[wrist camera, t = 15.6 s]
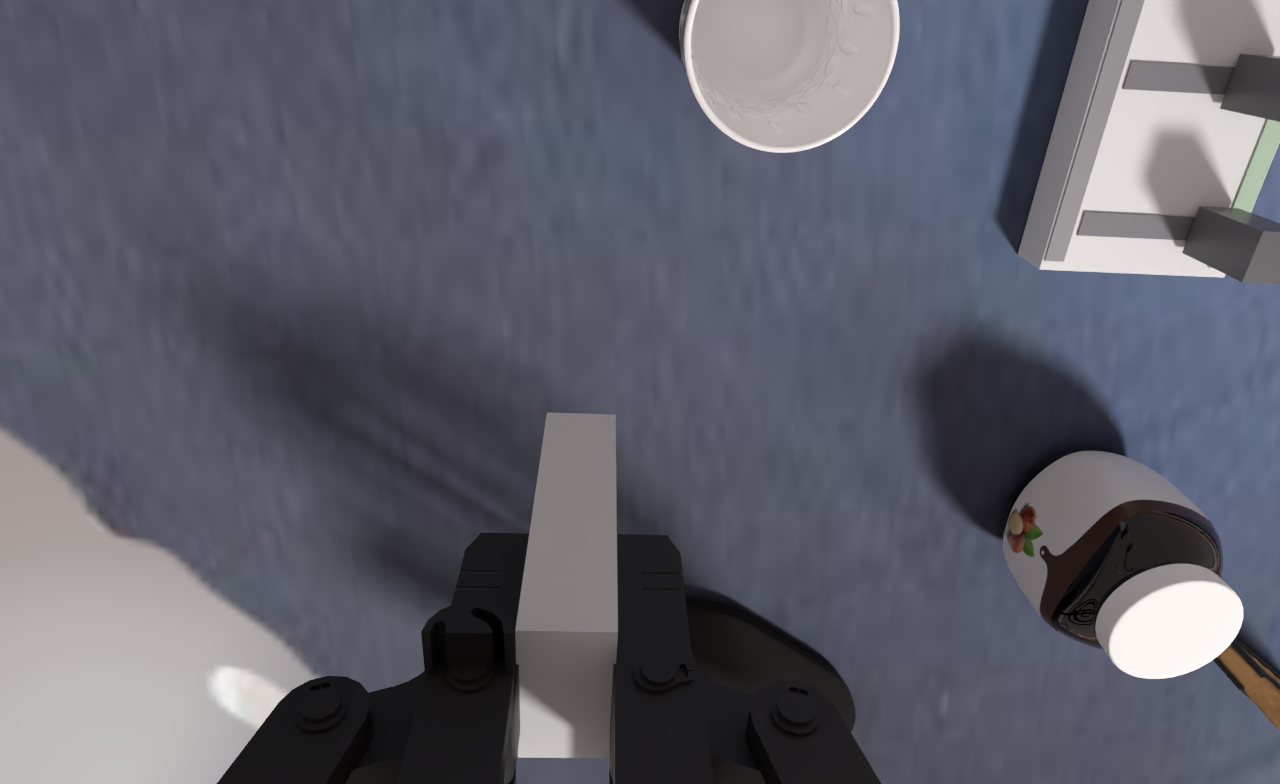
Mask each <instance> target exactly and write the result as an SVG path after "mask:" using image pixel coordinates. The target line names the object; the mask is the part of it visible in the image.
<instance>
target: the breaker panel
mask: <svg viewBox="0 0 1280 784" xmlns="http://www.w3.org/2000/svg"><path fill="white" fill-rule="evenodd" d="M1240 54H1254V55H1271V56H1280V0H1089V2H1088V6H1087V9H1086V13H1085V16H1084V20H1083V24H1082V27H1081V31H1080V34H1079V38H1078V41H1077V45H1076V49H1075V52H1074V56H1073V59H1072V63H1071V66H1070V70H1069V73H1068V77H1067V81H1066V84H1065V88H1064V91H1063V95H1062V98H1061V102H1060V106H1059V109H1058V113H1057V116H1056V120H1055V123H1054V127H1053V130H1052V134H1051V138H1050V141H1049V145H1048V148H1047V152H1046V155H1045V159H1044V163H1043V166H1042V170H1041V173H1040V177H1039V180H1038V184H1037V187H1036V191H1035V195H1034V198H1033V202H1032V205H1031V209H1030V212H1029V216H1028V220H1027V223H1026V227H1025V230H1024V234H1023V237H1022V241H1021V244H1020V248H1019V252H1018V255H1019V256H1020V257H1022V258H1023V259H1025V260H1026V261H1028V262H1029V263H1031V264H1032V265H1034V266H1035V267H1036V268H1038V269H1039V270H1062V271H1085V272H1108V273H1131V274H1155V275H1178V276H1201V277H1225V275H1226V274H1224V273H1222V272H1220V271H1218V270H1216V269H1214V268H1212V267H1210V266H1208V265H1206V264H1204V263H1202V262H1200V261H1198V260H1196V259H1194V258H1192V257H1190V256H1187V255H1185V254H1183V253H1182V252H1183V249H1184V246H1185V244H1186V241H1187V239H1188V236H1189V233H1190V231H1191V228H1192V225H1193V223H1194V220H1195V217H1196V215H1197V212H1198V209H1199V207H1200V206H1203V207H1224V208H1239V209H1242V210H1244V211H1247V212H1250V213H1251V211H1252V209H1253V206H1254V204H1255V201H1256V199H1257V196H1258V194H1259V192H1260V189H1261V187H1262V184H1263V182H1264V179H1265V177H1266V174H1267V172H1268V170H1269V167H1270V165H1271V162H1272V160H1273V157H1274V155H1275V152H1276V150H1277V148H1278V145H1279V143H1280V122H1278V121H1274V120H1269V119H1265V118H1260V117H1256V116H1251V115H1246V114H1242V113H1237V112H1233V111H1228V110H1224V109H1220V107H1221V104H1222V102H1223V99H1224V96H1225V93H1226V91H1227V88H1228V85H1229V83H1230V80H1231V77H1232V74H1233V72H1234V69H1235V66H1236V64H1237V61H1238V58H1239V55H1240Z"/></svg>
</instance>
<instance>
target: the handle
mask: <svg viewBox="0 0 1280 784" xmlns="http://www.w3.org/2000/svg"><path fill="white" fill-rule="evenodd" d="M1182 253H1183V254H1185V255H1187V256H1190V257H1192V258H1194V259H1196V260H1198V261H1200V262H1202V263H1204V264H1206V265H1208V266H1210V267H1212V268H1214V269H1216V270H1218V271H1220V272H1222V273H1224V274H1227V275H1229V276H1231V277H1233V278H1235V279H1237V280H1239V281H1241V282H1253V283H1276V284H1280V224H1279V223H1277V222H1274V221H1271V220H1268V219H1266V218H1263V217H1260V216H1258V215H1255V214H1252V213H1250V212H1247V211H1244V210H1242V209H1239V208H1224V207H1203V206H1200V207H1199V209H1198V212H1197V215H1196V217H1195V220H1194V223H1193V225H1192V228H1191V231H1190V233H1189V236H1188V239H1187V241H1186V244H1185V246H1184V249H1183V252H1182Z"/></svg>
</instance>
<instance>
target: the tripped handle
mask: <svg viewBox="0 0 1280 784" xmlns="http://www.w3.org/2000/svg"><path fill="white" fill-rule="evenodd" d="M1220 109H1224V110H1228V111H1233V112H1237V113H1242V114H1246V115H1251V116H1256V117H1260V118H1265V119H1269V120H1274V121H1278V122H1280V56H1271V55H1254V54H1240V55H1239V58H1238V61H1237V64H1236V66H1235V69H1234V72H1233V74H1232V77H1231V80H1230V83H1229V85H1228V88H1227V91H1226V93H1225V96H1224V99H1223V102H1222V104H1221V107H1220Z"/></svg>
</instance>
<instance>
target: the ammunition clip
mask: <svg viewBox="0 0 1280 784" xmlns="http://www.w3.org/2000/svg"><path fill="white" fill-rule="evenodd" d="M1213 660H1214V662H1215V663H1216V664H1217V665H1218V666H1219V667H1220V668H1221V670H1222V671H1223V672H1224V673H1225V674H1226V675H1227V676H1228V677H1229V679H1230V680H1231V681H1232V682H1233V683H1234V684H1235V685H1236V687H1237V688H1238V689H1239V690H1240V691H1241V692H1243V693H1244V694H1245V695H1246V696H1248V697H1249V698H1250V699H1251V700H1252V701H1253V702H1254V703H1255V704H1256V705H1257V706H1258V707H1259V709H1260V710H1261V711H1262V712H1263V713H1264V714H1265V715H1266V716H1267V717H1268V719H1269V720H1270V721H1271V722H1272V723H1273V724H1274V725H1275V726H1276V727H1277V728H1279V729H1280V674H1279V673H1278V672H1276V671H1275V670H1274V669H1273V668H1272V667H1270V666H1269V665H1268V664H1267V663H1266V662H1264V661H1263V660H1262V659H1261V658H1260V657H1258V656H1257V655H1256V654H1255V653H1254V652H1252V651H1251V650H1250V649H1249V648H1248V647H1246V646H1245V645H1244V644H1243V643H1242V642H1240V641H1239V640H1238V639H1237V638H1236V637H1235V639H1234V640H1233V641H1232V643H1231V644H1230V645H1229V646H1228V647H1227V648H1226V649H1225V650H1224V651H1223V652H1222V653H1221V654H1220V655H1219V656H1217V657H1216V658H1215V659H1213Z"/></svg>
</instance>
